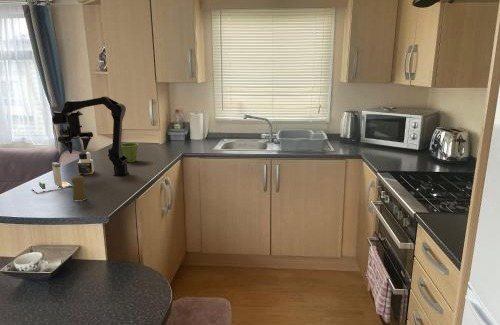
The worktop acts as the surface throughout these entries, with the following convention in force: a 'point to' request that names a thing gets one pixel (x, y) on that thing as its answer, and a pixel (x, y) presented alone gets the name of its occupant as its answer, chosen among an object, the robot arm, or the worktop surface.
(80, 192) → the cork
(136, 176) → the worktop surface
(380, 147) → the worktop surface
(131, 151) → the plant pot
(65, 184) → the base
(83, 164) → the medicine bottle
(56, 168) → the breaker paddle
